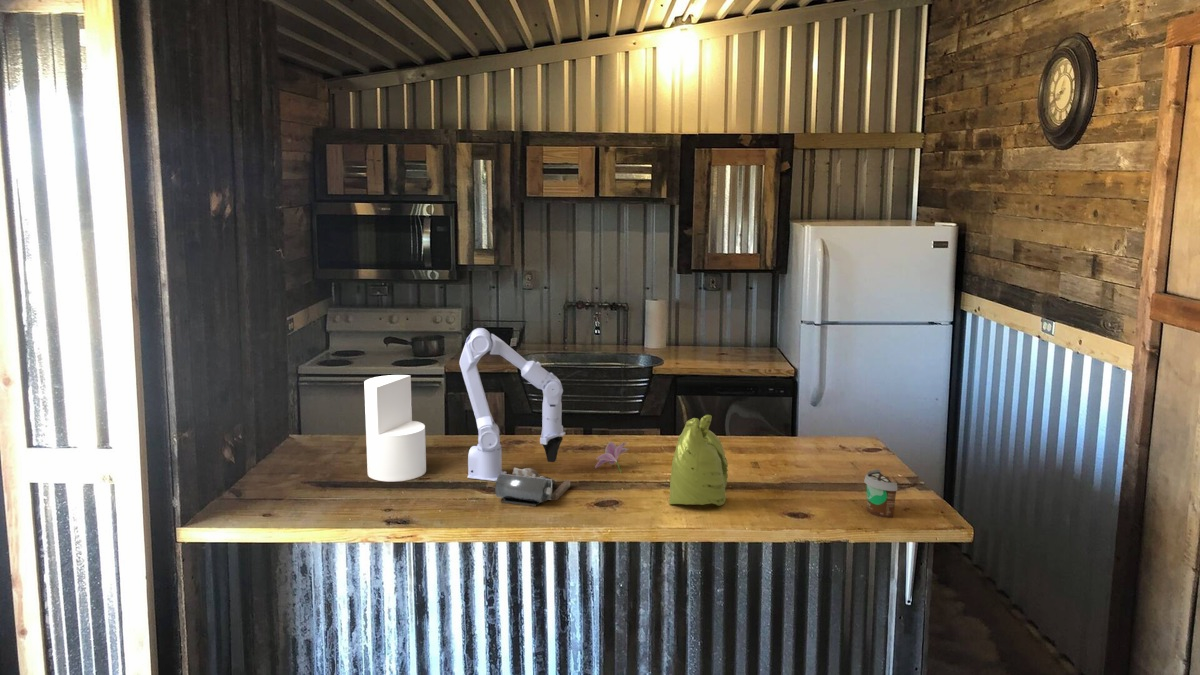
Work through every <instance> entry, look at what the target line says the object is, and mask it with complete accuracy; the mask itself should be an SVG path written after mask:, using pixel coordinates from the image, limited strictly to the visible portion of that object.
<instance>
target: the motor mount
mask: <svg viewBox="0 0 1200 675" xmlns="http://www.w3.org/2000/svg"><path fill="white" fill-rule="evenodd" d="M569 488H571V479H565V480H564V481H563V482H562V483H561V484H560V485H559V486H558V487H557V488H556V489H554V491H553V492H552V478H551V479H545V478H536V477H527V476H518V475H512V474H509V473H508V474H507V473H506V474H500V475H499V476H498V478H497V481H495V488H494V490H495V495H496V497H497V498H501V503H502V502H503V503H505V504H510V503H512V504H511V505H518V504H522V505H521V506H527V505H532V506H531V507H535V506H536V505H537V504H538V503H539V502H540V503H542V504H543V503H545V502H546V501H547V500H552V501H558V499H559V498H560V497H561V496H563V494H565V493H566V491H568V489H569ZM540 503H539V504H540ZM539 504H538V505H539ZM538 505H537V506H538ZM537 506H536V507H537Z"/></svg>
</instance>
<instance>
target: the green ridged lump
mask: <svg viewBox="0 0 1200 675" xmlns="http://www.w3.org/2000/svg"><path fill="white" fill-rule="evenodd" d="M712 417H713V416H712V415H711V414H705V415H703V416H702V417H701V418H700V419H699V418H697V417H693V418H691V419H688V420H687V421H685V425H684V428H683V429H682V432H681V434H679V436H678V438H677V443H676V447H675V451H674V452H673V458H672V461H671V469H670V477H669V478H670V480H669V498H668V499H669V500H668V503H669V505H686V506H688V505H692V506H693V505H701V506H704V505H710V504H713V505H716V506H718V507H719V506H723V505H724V504H725V503H726V501H727V500H726V499H727V497H726V496H727V495H726V487H727V485H728V480H727V479H728V478H729V475H728V471H729V470H728V466H729V464H728V459H727V457H726V453H725V451H724V448H723V444H722V442H721V440H720V438H719V437H718V436H717V435H716V434H715V433H714V432H713V431H711V430H710V429H709V428H710V425H711V422H712V419H713V418H712Z"/></svg>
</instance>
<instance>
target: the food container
mask: <svg viewBox="0 0 1200 675" xmlns="http://www.w3.org/2000/svg"><path fill="white" fill-rule="evenodd" d="M864 477H865V478H864V480H863V481H864V484H866V510H867V512H868V513H869V514H871V515H873V516H876V517H881V518H886V519H893V518H894V514H895V504H896V497H897V492H898V483H897V482H892V481H891V479H890V478H889V477H887V476H885V475H884V474H882V473H881V468H880V469H877V468H876V469H871V470H869V471H867V473H866V474H865V476H864Z"/></svg>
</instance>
